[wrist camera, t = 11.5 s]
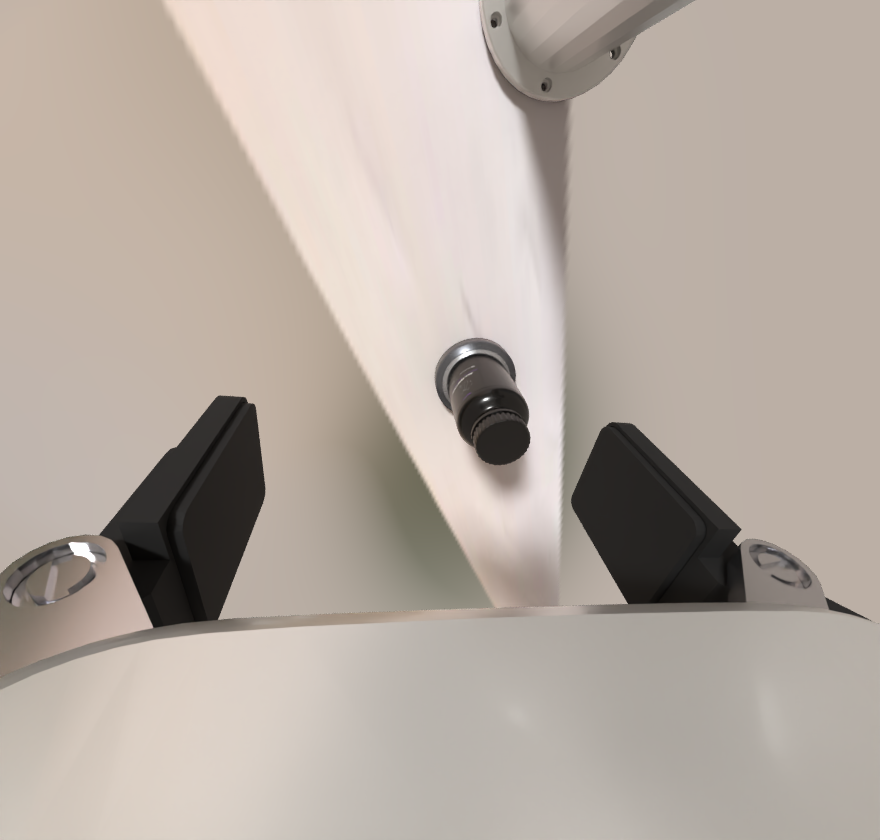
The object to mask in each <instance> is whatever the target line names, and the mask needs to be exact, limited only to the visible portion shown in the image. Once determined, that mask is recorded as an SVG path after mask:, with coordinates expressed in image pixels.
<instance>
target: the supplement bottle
mask: <svg viewBox="0 0 880 840" xmlns="http://www.w3.org/2000/svg"><path fill="white" fill-rule="evenodd" d="M447 391H448V396H449V399H450V403H451V407H452V410H453V414H454V418H455V422H456V425H457V429H458V431H459V434H460V436H461V437H462V439H463V440H464V441H465V442H466V443H467V444H469V445H470V446H472V447H474V448H475V450H476V453H477V454H478V456H479V457H480V458H481V459H482V460H483V461H485V462H486V463H489V464H493V465H505V464H508V463H511V462H513V461H516V460H517V459H519V458H520V457H521V456H522V455H524V453H525V452H526V451H527V448H528V447H529V444H530V432H529V430H528V428H527V424H528V421H529V409H528V406H527V403H526V401H525V399H524V398H523V396H522V394H521V393H520V391H519V389H518V388H517V386H516V384H515V383H514V381H513V379H512V378H511V376H510V375H509V373H508V371H507V370H506V368H505V367H504V365H503V364H502V363H501V362H500V361H499V360H498V359H497V358H495V357H494V356H491V355H489V354H484V353H476V354H471V355H468V356H465V357H463V358H462V359H460V360H459V361H458V362H456V363H455V364H454V366H453V367H452V368H451V370H450V372H449V374H448V377H447Z"/></svg>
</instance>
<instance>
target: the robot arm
mask: <svg viewBox="0 0 880 840" xmlns="http://www.w3.org/2000/svg"><path fill="white" fill-rule="evenodd" d="M693 1H695V0H479V5H480V13H481V22H482V27H483V31H484V34H485V38H486V42H487V45H488V48H489V50H490V52H491V54H492V57H493V59H494V61H495V63H496V65H497V66H498V68H499V69H500V71H501V72H502V74H503V75H504V77H505V78H506V79H507V80H508V81H509V82H510V83H511V84H512V85H513V86H514V87H515V88H516V89H517V90H519V91H521V92H522V93H524V94H526V95H527V96H529V97H531V98H535V99H538V100H541V101H554V102H558V101H563V100H567V99H572V98H574V97H576V96H579V95H581V94H583V93H585V92H587V91H588V90H590V89H592V88H593V87H595V86H597V85H598V84H599V83H600V82H601V81H603V80H604V79H605V78H606V77H607V76H608V75H609V74H610V73H612V71H613V70H614V69H615V68H616V67H617V65H618V64H619V63H620V62H621V61H622V59H623V58H624V56H625V55H626V53H627V51H628V50H629V48H630V46H631V45H632V43H633V42H634V40H635V38H636V36H637V35H638V34H640V33H641V32H643V31H645V30H646V29H648V28H650V27H651V26H653V25H655V24H656V23H658V22H660V21H661V20H663V19H665V18H667V17H668V16H670V15H671V14H673V13H675V12H676V11H678V10H680V9H681V8H683V7H685V6H687V5H688V4H690V3H691V2H693ZM491 20H494V21H495V22H496V28H493V27H492V26H491ZM610 51H611V52H612V58H611V57H610ZM542 83H543V84H545V91H542V88H541V85H542ZM264 497H265V482H264V473H263V464H262V456H261V447H260V439H259V431H258V422H257V415H256V407H255V405H254V404H250V403H248V402H247V400H246V398H245V397H234V396H218V397H216V398H215V400H214V401H213V402H212V403H211V405H210V406H209V407H208V409H207V410H206V411H205V412H204V414H203V415H202V416H201V417H200V419H199V420H198V421H197V422H196V424H195V425H194V426H193V427H192V429H191V430H190V431H189V432H188V434H187V435H186V436H185V438H184V439H183V440H182V441H181V443H180V444H179V445H178V446H177V447H175V448H172V449H170V450H169V451H168V452H167V453H166V454H165V455H164V456H163V458H162V459H161V460H160V461H159V463H158V464H157V465H156V466H155V467H154V469H153V470H152V471H151V472H150V474H149V475H148V476H147V477H146V478H145V480H144V481H143V482H142V483H141V485H140V486H139V487H138V488H137V489H136V491H135V492H134V493H133V494H132V495H131V497H130V498H129V499H128V500H127V502H126V503H125V504H124V505H123V507H122V508H121V509H120V510H119V511H118V513H117V514H116V515H115V516H114V518H113V519H112V520H111V521H110V523H109V524H108V525H107V526H106V527H105V529H104V530H103V531H102V532H101V533H100V535H80V536H72V537H67V538H63V539H60V540H57V541H53V542H50V543H47V544H45V545H43V546H41V547H39V548H36V549H34V550H32V551H30V552H28V553H27V554H25V555H24V556H22V557H20V558H19V559H17V560H16V561H14V562H13V563H12V564H10V565H9V566H8V567H7V568H6V569H5V570H4V571H3V572H1V573H0V840H880V624H879V623H876V622H873V621H871V620H869V619H867V618H865V617H863V616H861V615H859V614H857V613H855V612H853V611H851V610H849V609H847V608H845V607H843V606H841V605H839V604H837V603H835V602H833V601H831V600H829V599H828V598H826V597H825V596H824V593H823V590H822V587H821V584H820V582H819V580H818V578H817V576H816V575H815V574H814V573H813V572H812V571H811V570H810V568H809V567H808V566H807V565H805V564H804V563H803V562H802V561H801V560H799V559H798V558H797V557H795V556H794V555H792V554H791V553H789V552H788V551H786V550H784V549H782V548H780V547H778V546H776V545H774V544H771V543H769V542H766V541H763V540H758V539H746V540H745V541H743V542H742V543H741V544H740V545H739V546H737V545H736V544H735V543H734V542H733V539H734V538H735V537H736V536H737V534H738V533H739V532H740V531H741V528H740V527H739V526H737V524H735V522H733V521H732V520H731V519H730V518H729V517H728V516H727V515H726V514H725V513H724V512H723V511H722V510H721V509H720V508H719V507H718V506H717V505H716V504H715V503H714V502H713V501H711V499H710V498H709V497H708V496H706V495H705V494H704V493H703V492H702V491H701V490H700V489H699V488H698V487H697V486H696V485H695V484H694V483H693V482H692V481H691V480H690V479H689V478H688V477H687V476H686V475H685V474H684V473H683V472H682V471H681V470H680V469H679V468H678V467H677V466H676V465H675V464H674V463H673V462H671V461H670V460H669V459H668V458H667V457H666V456H665V455H664V454H663V453H662V452H661V451H660V450H659V449H658V448H657V447H656V446H655V445H654V444H653V443H652V442H651V441H650V440H649V439H648V438H647V437H646V436H645V435H644V434H643V433H642V432H640V430H638V429H637V428H636V427H635V426H634V425H633V424H630V423H615V422H612V423H609V424H608V425H607V426H606V427H604V428H603V429H602V430H601V431H600V433H599V436H598V438H597V440H596V442H595V445H594V447H593V449H592V452H591V454H590V456H589V459H588V461H587V463H586V465H585V468H584V470H583V472H582V474H581V477H580V479H579V481H578V483H577V486H576V488H575V490H574V493H573V495H572V499H571V503H572V507H573V509H574V511H575V513H576V515H577V516H578V518H579V520H580V522H581V523H582V525H583V527H584V529H585V530H586V532H587V534H588V536H589V537H590V539H591V541H592V542H593V544H594V546H595V548H596V549H597V551H598V553H599V555H600V556H601V558H602V560H603V561H604V563H605V565H606V567H607V568H608V570H609V572H610V574H611V575H612V577H613V579H614V580H615V582H616V583H617V586H618V587H619V589H620V591H621V593H622V594H623V596H624V598H625V599H626V601H627V603H628V604H618V605H582V606H581V605H579V606H543V607H510V608H477V609H447V610H418V611H389V612H362V613H361V612H360V613H332V614H311V615H291V616H273V617H253V618H234V619H224V620H218V618H219V616H220V613H221V610H222V608H223V605H224V603H225V600H226V597H227V595H228V592H229V590H230V587H231V584H232V582H233V579H234V577H235V574H236V572H237V569H238V566H239V564H240V561H241V558H242V556H243V553H244V551H245V548H246V546H247V543H248V540H249V537H250V535H251V533H252V530H253V527H254V525H255V522H256V520H257V517H258V514H259V512H260V509H261V507H262V504H263V501H264Z"/></svg>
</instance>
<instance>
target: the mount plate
mask: <svg viewBox="0 0 880 840" xmlns="http://www.w3.org/2000/svg"><path fill="white" fill-rule="evenodd" d="M476 353H484V354H489V355H491V356H494V357H495V358H497V359H498V360H499V361H500V362H501V363H502V364H503V365H504V367H505V368H506V370H507V371H508V373H509V375H510V376H511V378H512V379H513V381H514V383H515V377H516V374H515V367H514V364H513V361H512V360H511V358H510V356H509V355H508V354H507V352H506V351H505V350H504V349H503V348H502V347H501V346H500V345H499V344H497V343H495V342H493V341H491V340H488V339H483V338H472V339H467V340H463V341H461V342H459V343H457V344H455V345H453V346H452V347H450V348H449V349H448V350H447V351H446V352H445V353H444V354H443V356H442V357H441V358H440V360H439V362H438V364H437V367H436V371H435V385H436V389H437V393H438V395H439V398H440V399H441V401H442V402H443V404H444V405H445V406H446V407H447V408H449V409H450V410H452V407H451V403H450V399H449V396H448V391H447V377H448V374H449V372H450V370H451V368H452V367H453V366H454V364H455V363H456V362H458V361H459V360H460V359H462V358H463V357H465V356H468V355H471V354H476ZM452 411H453V410H452Z"/></svg>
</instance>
